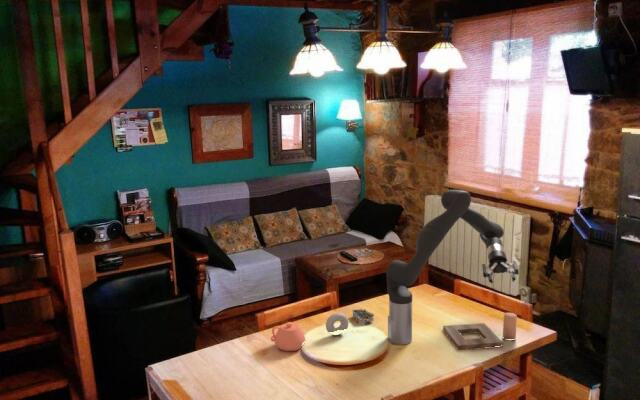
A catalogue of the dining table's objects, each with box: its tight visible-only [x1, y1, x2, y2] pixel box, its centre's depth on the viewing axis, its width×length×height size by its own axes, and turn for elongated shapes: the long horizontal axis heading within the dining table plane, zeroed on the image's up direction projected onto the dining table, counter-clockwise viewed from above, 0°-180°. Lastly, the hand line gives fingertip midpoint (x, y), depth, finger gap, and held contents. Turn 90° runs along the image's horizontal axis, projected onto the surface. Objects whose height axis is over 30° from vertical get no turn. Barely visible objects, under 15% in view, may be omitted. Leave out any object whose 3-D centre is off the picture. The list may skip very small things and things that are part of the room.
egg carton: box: [351, 308, 375, 325], centre depth 235 cm, size 11×8×4 cm
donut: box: [325, 312, 349, 333], centre depth 219 cm, size 10×4×10 cm, turn 109°
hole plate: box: [442, 322, 504, 351], centre depth 214 cm, size 18×18×2 cm
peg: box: [502, 312, 518, 340], centre depth 213 cm, size 5×5×10 cm
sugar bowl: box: [270, 321, 306, 352], centre depth 210 cm, size 12×14×10 cm
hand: (502, 280), depth 215 cm, fingers open, 8 cm apart
